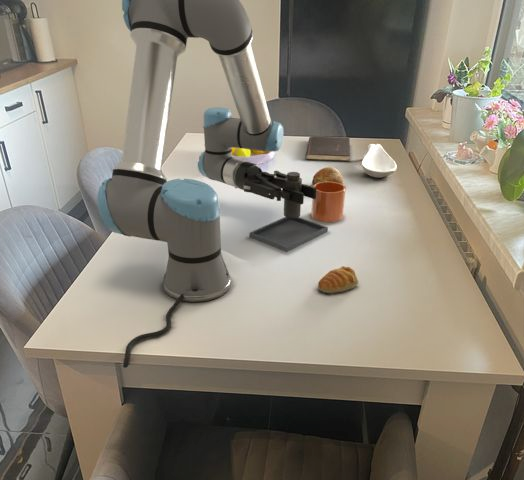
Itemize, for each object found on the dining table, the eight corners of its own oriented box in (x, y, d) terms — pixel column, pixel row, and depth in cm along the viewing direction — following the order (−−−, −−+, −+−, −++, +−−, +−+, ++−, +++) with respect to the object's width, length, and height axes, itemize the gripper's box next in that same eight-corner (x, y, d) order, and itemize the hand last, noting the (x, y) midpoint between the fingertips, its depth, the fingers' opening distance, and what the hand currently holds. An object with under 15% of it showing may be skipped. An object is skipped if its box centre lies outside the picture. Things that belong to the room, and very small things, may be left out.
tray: (286, 253, 139) (286, 247, 138) (249, 238, 146) (249, 232, 145) (327, 233, 149) (327, 227, 148) (290, 219, 156) (290, 214, 155)
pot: (329, 226, 152) (332, 195, 147) (304, 217, 157) (306, 187, 152) (348, 217, 158) (351, 186, 152) (323, 209, 162) (326, 179, 157)
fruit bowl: (273, 176, 186) (273, 142, 179) (196, 171, 189) (193, 137, 182) (283, 151, 208) (284, 120, 201) (214, 148, 211) (212, 117, 204)
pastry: (330, 299, 121) (332, 284, 119) (310, 287, 125) (311, 272, 123) (360, 286, 126) (361, 271, 123) (339, 275, 130) (340, 260, 127)
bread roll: (342, 201, 177) (353, 178, 173) (317, 192, 171) (329, 167, 168) (328, 191, 184) (339, 168, 181) (304, 181, 179) (315, 158, 175)
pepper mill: (292, 219, 142) (294, 177, 135) (280, 215, 144) (281, 173, 138) (303, 214, 144) (305, 173, 138) (290, 210, 147) (292, 169, 140)
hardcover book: (349, 143, 216) (349, 137, 215) (349, 161, 198) (349, 155, 197) (309, 142, 218) (309, 136, 217) (305, 159, 200) (305, 153, 198)
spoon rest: (398, 181, 182) (401, 159, 178) (363, 181, 182) (365, 159, 177) (385, 159, 201) (387, 139, 196) (353, 159, 201) (355, 139, 196)
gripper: (264, 180, 158) (328, 201, 145) (220, 196, 147) (286, 220, 135) (264, 154, 153) (330, 173, 141) (219, 168, 143) (287, 190, 130)
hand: (308, 196), depth 138 cm, fingers closed on pepper mill, 4 cm apart
